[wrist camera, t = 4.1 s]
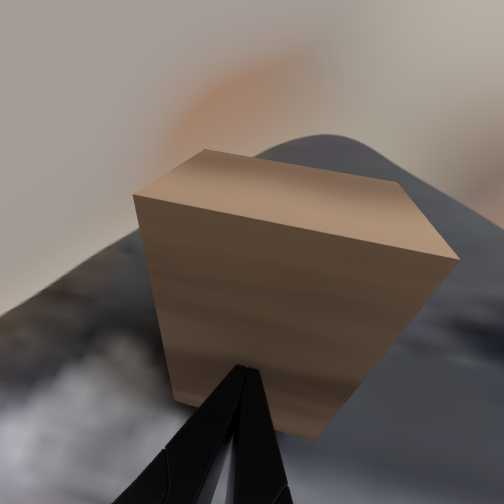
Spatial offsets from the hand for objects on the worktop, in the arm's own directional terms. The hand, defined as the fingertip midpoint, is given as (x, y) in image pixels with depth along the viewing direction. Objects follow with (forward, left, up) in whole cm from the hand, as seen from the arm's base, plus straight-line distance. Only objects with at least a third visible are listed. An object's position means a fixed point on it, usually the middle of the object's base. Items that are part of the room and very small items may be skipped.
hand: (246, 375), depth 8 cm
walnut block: (0, 0, -6) cm, 6 cm away
